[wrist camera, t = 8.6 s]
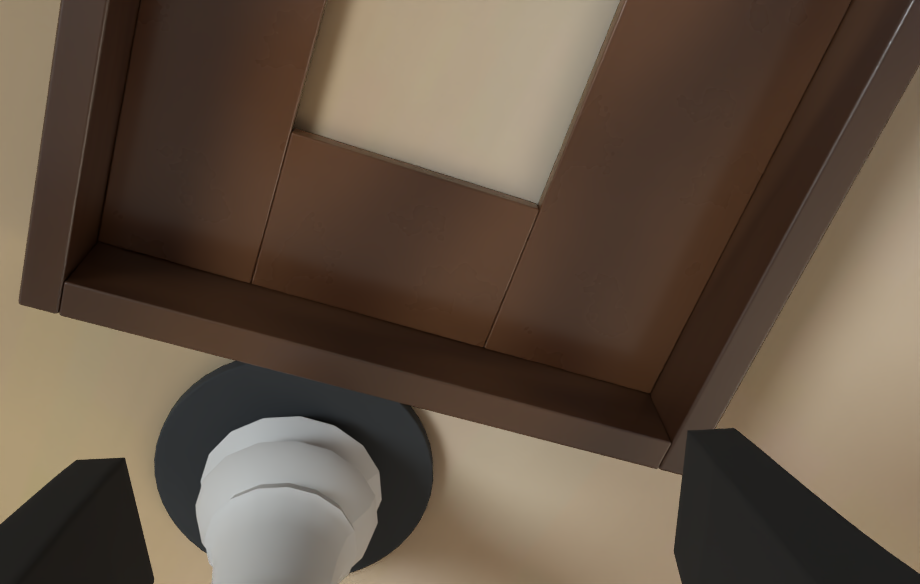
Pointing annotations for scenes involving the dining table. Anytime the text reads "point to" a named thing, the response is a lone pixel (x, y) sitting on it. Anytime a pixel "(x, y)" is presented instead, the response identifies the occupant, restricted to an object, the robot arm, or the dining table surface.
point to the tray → (463, 211)
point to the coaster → (283, 395)
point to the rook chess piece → (287, 503)
